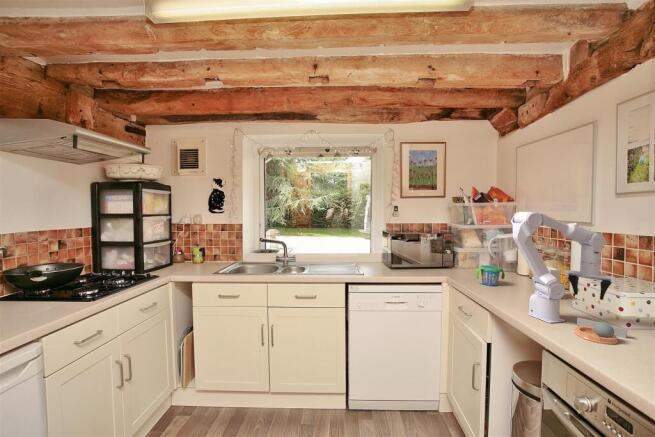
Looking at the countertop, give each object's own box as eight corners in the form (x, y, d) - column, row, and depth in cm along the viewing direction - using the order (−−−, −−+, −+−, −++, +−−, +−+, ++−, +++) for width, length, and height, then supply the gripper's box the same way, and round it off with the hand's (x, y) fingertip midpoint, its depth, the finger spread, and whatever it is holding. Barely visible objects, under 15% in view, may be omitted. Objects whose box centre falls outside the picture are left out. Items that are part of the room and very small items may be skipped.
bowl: (566, 331, 104) (566, 327, 104) (588, 328, 106) (588, 324, 106) (602, 346, 93) (602, 341, 93) (626, 342, 96) (626, 337, 96)
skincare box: (534, 294, 148) (535, 265, 147) (545, 294, 149) (546, 265, 148) (548, 300, 140) (549, 269, 139) (559, 299, 140) (561, 269, 140)
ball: (587, 324, 100) (602, 318, 97) (595, 326, 102) (610, 320, 99) (597, 339, 97) (613, 333, 94) (605, 341, 99) (621, 335, 96)
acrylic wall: (576, 325, 109) (577, 318, 109) (577, 324, 110) (578, 317, 110) (626, 338, 99) (626, 330, 99) (626, 337, 100) (627, 329, 100)
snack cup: (499, 282, 171) (500, 265, 171) (509, 287, 161) (509, 269, 161) (472, 281, 173) (472, 264, 172) (479, 286, 162) (480, 268, 162)
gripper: (618, 264, 110) (616, 299, 111) (569, 258, 122) (568, 290, 122) (614, 266, 106) (612, 303, 106) (564, 260, 117) (562, 293, 118)
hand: (588, 296), depth 114 cm, fingers open, 7 cm apart
